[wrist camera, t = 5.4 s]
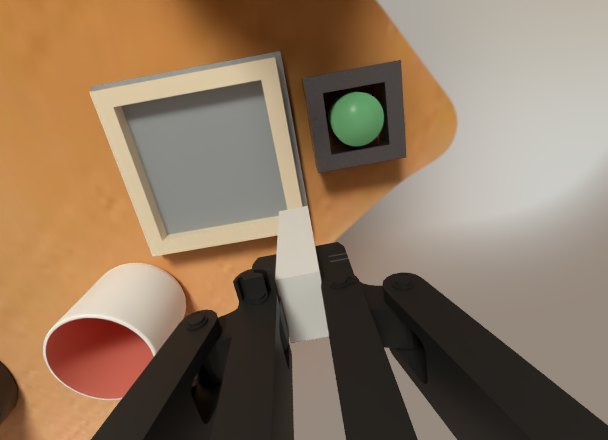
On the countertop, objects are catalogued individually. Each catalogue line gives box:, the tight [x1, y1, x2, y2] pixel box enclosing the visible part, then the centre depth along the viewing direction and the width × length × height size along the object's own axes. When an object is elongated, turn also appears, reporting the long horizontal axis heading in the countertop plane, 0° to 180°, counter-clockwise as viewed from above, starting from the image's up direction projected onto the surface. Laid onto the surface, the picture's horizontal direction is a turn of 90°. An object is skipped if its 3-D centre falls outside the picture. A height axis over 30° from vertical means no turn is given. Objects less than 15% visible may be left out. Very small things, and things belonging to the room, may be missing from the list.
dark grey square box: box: [302, 60, 406, 173], centre depth 31 cm, size 8×8×4 cm
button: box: [328, 91, 384, 146], centre depth 30 cm, size 4×4×3 cm
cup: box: [43, 263, 186, 400], centre depth 35 cm, size 10×10×10 cm
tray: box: [90, 51, 309, 256], centre depth 33 cm, size 17×17×3 cm
